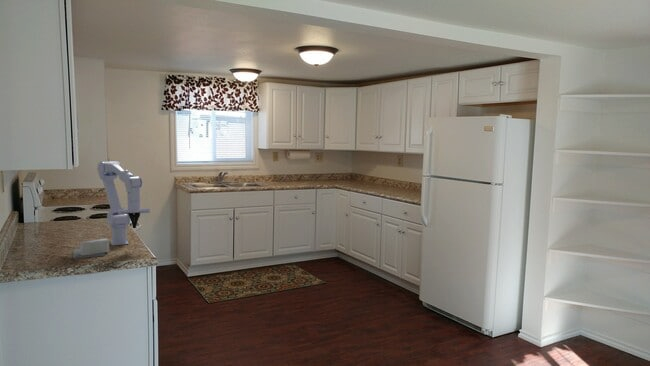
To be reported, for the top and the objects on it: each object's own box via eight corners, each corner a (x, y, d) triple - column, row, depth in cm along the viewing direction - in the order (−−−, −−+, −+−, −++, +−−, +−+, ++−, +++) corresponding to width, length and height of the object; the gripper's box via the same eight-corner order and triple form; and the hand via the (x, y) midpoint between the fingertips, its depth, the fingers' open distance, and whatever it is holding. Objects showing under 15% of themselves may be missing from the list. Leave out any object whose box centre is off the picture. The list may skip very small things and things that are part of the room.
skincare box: (105, 238, 225) (79, 241, 216) (109, 239, 222) (82, 243, 213) (105, 250, 225) (79, 254, 216) (109, 252, 222) (82, 256, 213)
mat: (73, 250, 226) (73, 249, 226) (103, 247, 232) (103, 246, 232) (73, 258, 210) (73, 257, 210) (104, 256, 216) (104, 255, 216)
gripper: (118, 202, 223) (119, 230, 224) (150, 201, 230) (150, 228, 231) (117, 200, 229) (118, 227, 231) (148, 199, 236) (148, 225, 237)
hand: (134, 227), depth 231 cm, fingers closed
